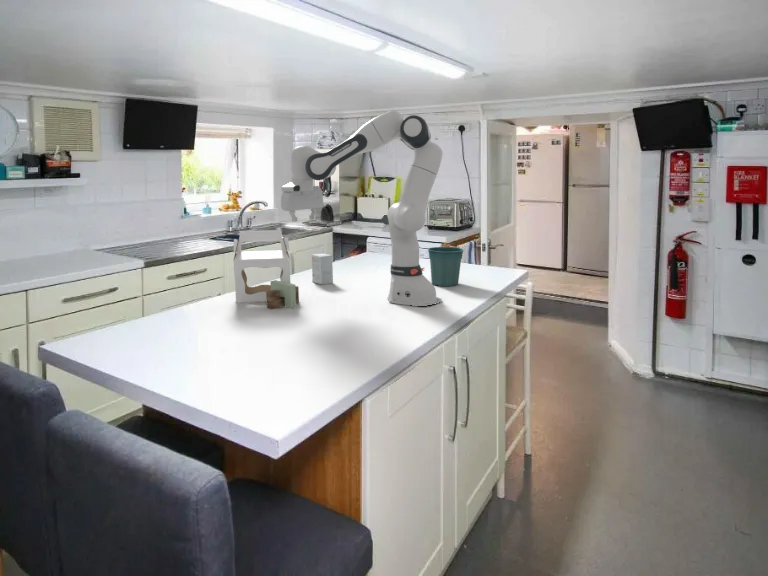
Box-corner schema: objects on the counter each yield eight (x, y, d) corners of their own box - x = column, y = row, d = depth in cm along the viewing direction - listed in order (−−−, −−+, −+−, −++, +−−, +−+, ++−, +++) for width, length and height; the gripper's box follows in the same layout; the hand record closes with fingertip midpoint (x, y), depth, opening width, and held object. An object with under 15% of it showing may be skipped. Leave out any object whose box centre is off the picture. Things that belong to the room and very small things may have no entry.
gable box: (290, 292, 248) (288, 227, 242) (291, 300, 236) (289, 231, 230) (237, 295, 244) (233, 229, 238) (235, 303, 232) (231, 233, 226)
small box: (333, 283, 267) (332, 255, 265) (321, 284, 264) (320, 256, 261) (323, 280, 274) (322, 252, 271) (312, 282, 270) (311, 254, 267)
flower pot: (436, 278, 276) (437, 245, 272) (468, 282, 268) (469, 247, 264) (420, 285, 262) (421, 250, 259) (454, 289, 254) (455, 253, 250)
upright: (294, 301, 234) (294, 285, 232) (299, 302, 232) (298, 286, 231) (267, 308, 223) (266, 291, 222) (271, 309, 222) (270, 292, 220)
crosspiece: (296, 307, 225) (295, 284, 223) (291, 308, 223) (290, 285, 221) (276, 302, 233) (275, 280, 231) (271, 303, 231) (270, 281, 229)
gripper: (316, 185, 246) (316, 218, 250) (278, 187, 231) (279, 222, 234) (326, 185, 242) (327, 218, 246) (288, 187, 227) (289, 223, 230)
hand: (303, 220), depth 240 cm, fingers open, 8 cm apart
